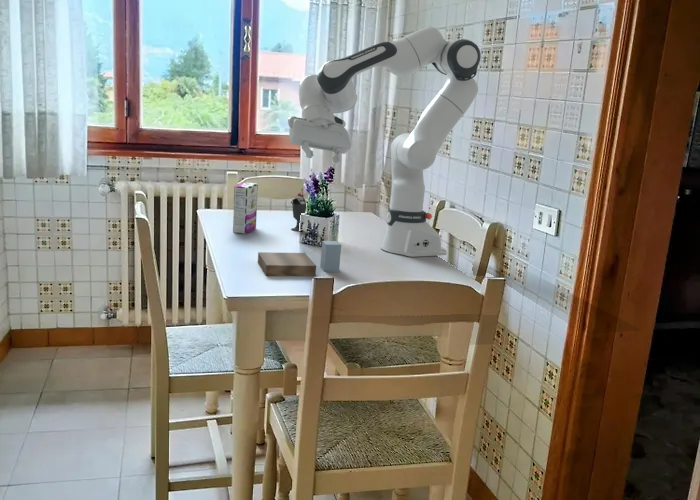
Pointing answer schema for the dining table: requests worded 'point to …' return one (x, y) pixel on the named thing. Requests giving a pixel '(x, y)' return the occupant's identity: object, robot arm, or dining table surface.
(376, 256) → the dining table surface
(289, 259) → the block
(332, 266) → the slate block
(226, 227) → the dining table surface
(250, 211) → the candy bar box
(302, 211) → the sundae
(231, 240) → the dining table surface
